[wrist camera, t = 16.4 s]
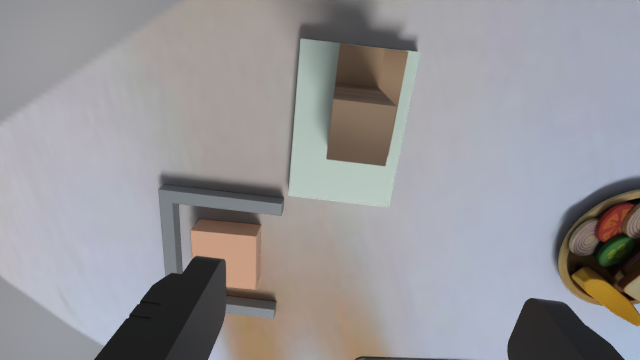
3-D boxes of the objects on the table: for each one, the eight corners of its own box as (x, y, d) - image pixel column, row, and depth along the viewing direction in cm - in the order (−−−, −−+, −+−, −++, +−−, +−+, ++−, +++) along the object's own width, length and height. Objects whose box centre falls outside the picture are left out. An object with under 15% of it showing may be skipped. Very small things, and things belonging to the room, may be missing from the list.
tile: (201, 217, 33) (190, 230, 30) (262, 223, 33) (256, 236, 30) (204, 267, 35) (194, 283, 33) (261, 273, 35) (255, 289, 33)
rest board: (301, 38, 26) (300, 38, 25) (417, 51, 26) (420, 52, 25) (289, 191, 31) (288, 195, 30) (387, 202, 31) (388, 207, 30)
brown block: (339, 43, 25) (340, 41, 15) (406, 51, 25) (453, 55, 15) (327, 146, 28) (320, 203, 18) (386, 153, 28) (414, 215, 18)
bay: (164, 184, 31) (158, 189, 30) (284, 198, 31) (282, 204, 30) (173, 298, 36) (167, 305, 35) (275, 310, 36) (273, 318, 35)
